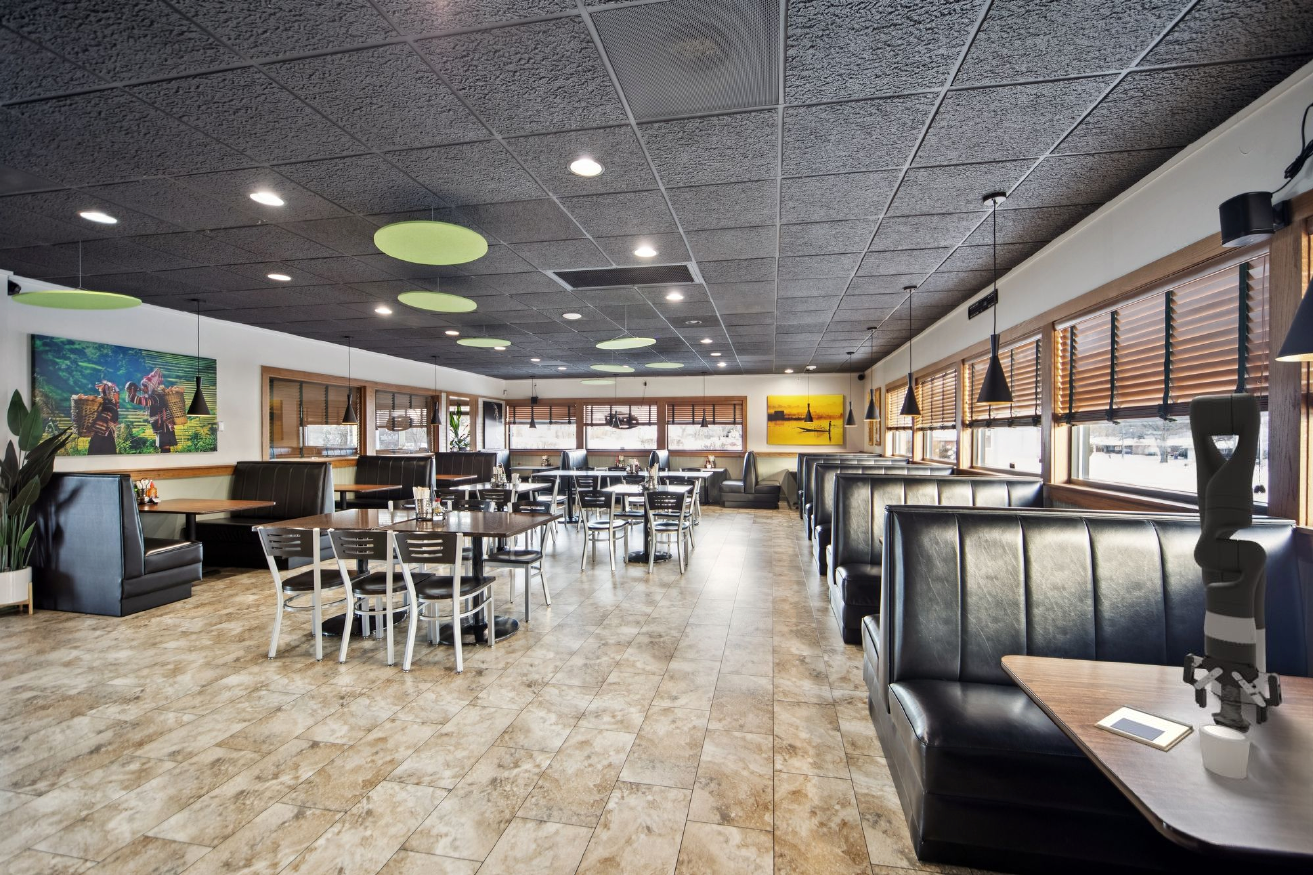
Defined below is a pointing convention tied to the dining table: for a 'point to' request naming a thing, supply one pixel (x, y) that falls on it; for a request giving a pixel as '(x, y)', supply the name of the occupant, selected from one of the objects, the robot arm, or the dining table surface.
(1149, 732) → the order pad
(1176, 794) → the dining table surface
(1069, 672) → the dining table surface
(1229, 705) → the dark grey chess bishop
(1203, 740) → the shot glass
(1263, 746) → the dining table surface
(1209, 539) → the robot arm
